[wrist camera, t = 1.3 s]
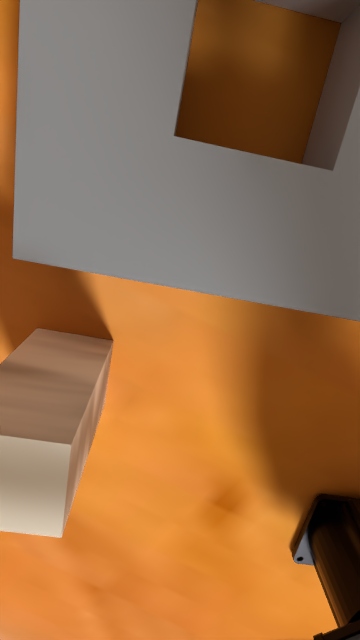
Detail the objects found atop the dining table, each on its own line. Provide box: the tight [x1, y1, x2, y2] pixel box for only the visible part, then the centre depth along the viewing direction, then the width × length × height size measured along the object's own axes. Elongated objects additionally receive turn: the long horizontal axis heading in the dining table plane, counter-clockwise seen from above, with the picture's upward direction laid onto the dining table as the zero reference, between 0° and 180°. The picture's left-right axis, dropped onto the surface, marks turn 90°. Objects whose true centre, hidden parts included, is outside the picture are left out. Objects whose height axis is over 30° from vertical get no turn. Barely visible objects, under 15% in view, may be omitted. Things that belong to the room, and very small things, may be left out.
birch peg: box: [0, 328, 113, 538], centre depth 16 cm, size 4×4×9 cm
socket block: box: [13, 0, 360, 321], centre depth 14 cm, size 18×18×4 cm
